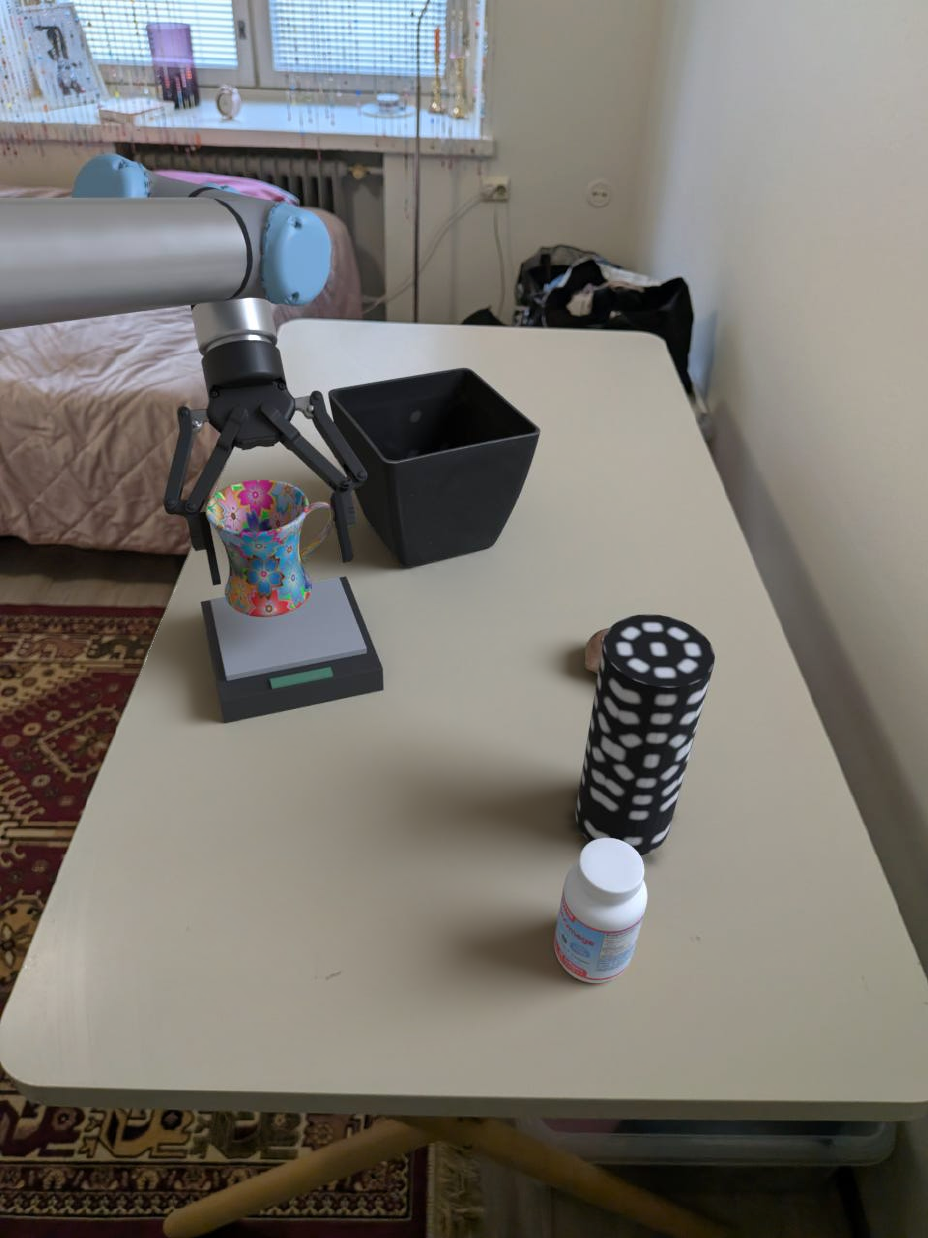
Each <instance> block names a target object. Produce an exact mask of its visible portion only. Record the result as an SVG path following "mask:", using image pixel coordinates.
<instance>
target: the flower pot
mask: <svg viewBox="0 0 928 1238" xmlns="http://www.w3.org/2000/svg"><path fill="white" fill-rule="evenodd" d="M327 397H328V403H329V407H330V411H331V416H332V417H331V418H332V420H333V422H334V423H335V425H336V427H337V428H338V430H339V431H340V433H341V434H342V436H343V437H344V439H345V440H346V442H347V443H348V445H349V446H350V448H351V449H352V451H353V452H354V454H355V455H356V457H357V458H358V460H359V461H360V463H361V464H362V466H363V467H364V469H365V470H366V472H367V478H366V480H365V482H364V484H363V485H362V486H361V487H357V488H356V489H354V490H353V491H354V494H355V496H356V498H357V499H356V500H357V502H358V504H359V507H360V509H361V511H362V514H363V515H364V518H365V520H366V521H367V522H368V524H369V525H370V526H371V528H372V530H373V531H374V532H375V533H376V535H377V536H378V538H379V539H380V541H381V542H382V543H383V544H384V546H385V548H387V550H388V551H389V552H390V554H391V555H392V557H393V558H394V559H395V561H396V562H397V564H398V565H399V566H401V567H403V568H412V567H416V566H421V565H423V564H428V563H431V562H435V561H440V560H444V559H449V558H452V557H456V556H461V555H464V554H468V553H472V552H476V551H480V550H484V549H489V548H491V547H493V546H495V544H496V542H497V541H498V540H499V538H500V536H501V534H502V532H503V530H504V528H505V527H506V524H507V522H508V521H509V519H510V517H511V514H512V513H513V510H514V508H515V506H516V504H517V502H518V499H519V498H520V495H521V493H522V490H523V488H524V485H525V482H526V481H527V477H528V475H529V473H530V469H531V466H532V463H533V460H534V457H535V454H536V450H537V447H538V443H539V438H540V435H541V428H540V427H539V426H538V425H536V424H535V423H534V422H533V421H532V420H531V419H530V418H528V417H527V416H526V415H525V414H524V413H522V412H521V411H520V410H519V409H518V408H517V407H516V406H515V405H513V404H512V403H511V402H509V401H508V400H507V398H505V397H504V396H503V395H501V394H500V392H498V391H497V390H496V389H495V388H494V387H493V386H492V385H490V384H489V383H488V382H487V381H486V380H485V379H483V377H481V376H480V375H478V373H476V372H475V371H474V370H472V369H471V368H468V367H458V368H452V369H445V370H439V371H432V372H426V373H419V374H415V375H409V376H402V377H396V378H391V379H385V380H384V379H383V380H380V381H373V382H372V381H371V382H367V383H362V384H361V383H360V384H356V385H349V386H344V387H343V386H342V387H337V388H333V389H330V390H329V391H328V392H327Z"/></svg>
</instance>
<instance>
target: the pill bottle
mask: <svg viewBox="0 0 928 1238" xmlns="http://www.w3.org/2000/svg"><path fill="white" fill-rule="evenodd" d="M641 856H642V855H639V854H638V852H637V851H636V850H635V849H634V848H633V847H632V846H630V845H629V844H627V843H625V842H623V841H621V840H618V839H614V838H600V839H596V840H594V841H591V842H590V841H589V842H588V843H586V845H585V846H583V848H582V849H581V851H580V853H579V856H578V860H577V861H576V862H575V863H574V864H573V865H572V866H571V867H570V869H569V870H568V871H567V874H566V875H565V878H564V882H563V887H562V894H561V899H560V903H559V904H560V905H559V910H558V914H557V915H558V916H557V920H556V927H555V933H554V939H553V947H554V952H555V955H556V958H557V960H558V962H559V964H560V965H561V966H562V968H563V969H564V970H565V971H566V972H567V973H568V974H570V975H571V976H573V977H574V978H575V979H578V980H580V981H583V982H585V983H590V984H603V983H608V982H611V981H613V980H614V979H617V978H618V977H619V976H621V975H622V974H623V973H624V972H625V971H626V970H627V969H628V967H629V965H630V963H631V961H632V959H633V955H634V952H635V948H636V945H637V941H638V937H639V934H640V930H641V927H642V922H643V919H644V916H645V912H646V908H647V905H648V904H647V903H648V888H647V885H646V882H645V880H644V877H645V864H644V861H643V858H642V857H641Z"/></svg>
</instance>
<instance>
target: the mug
mask: <svg viewBox="0 0 928 1238" xmlns="http://www.w3.org/2000/svg"><path fill="white" fill-rule="evenodd" d="M318 508H324V509H327V510H328V511H329V517H328V521H327V523H326V525H325V527H324V528H323V530H322V531H321V532H320V534H319V535H318V536H317V537H316V539H314V540H313V541H312V542H311V543H310V544H309V545H307V546H306V547H305V548H303V549H302V550H301V551H300V537H301V531H302V528H303V524H304V521H305V519H306V517H307V516H308V515H309V514H310V513H311V512H312V511H314V510H316V509H318ZM205 511H206V517H207V519H208V521H209V523H210V526H212V528H213V529H214V530H215V532H216V533H217V535H218V536H219V539H220V541H221V543H222V544H223V547H224V549H225V551H226V552H225V553H226V555H227V559H228V568H229V569H228V571H229V573H228V579H227V582H226V584H225V587H224V597H225V598H226V600H227V602H228V603H229V605H230V606H231V607H232V608H234V609H235V610H237V611H238V612H240V613H243V614H245V615H249V616H254V617H273V616H279V615H283V614H286V613H288V612H291V611H293V610H295V609H297V608H298V607H300V606H301V605H302V604H303V603H304V602H305V601H306V600H307V599H308V597H309V596H310V593H311V590H312V582H313V581H312V579H311V577H310V575H309V574H308V573H307V572H306V570H305V568H304V566H303V563H305V564H309V562H310V559H308V558H307V557H306V556H307V555H309V553H311V552H312V551H314V550H315V549H316V548H317V547H318V546H320V544H321V543H322V542H323V541H324V540H325V539H326V537H327V536H328V535H329V533H330V531H331V529H332V528H333V526H334V524H335V523H334V520H335V511H334V509H333V507H332V506H331V503H328V502H326V501H316V502H312V503H311V504H309V500H308V497H307V496H306V494H305V492H303V490H301V489H300V488H298V487H296V486H294V485H293V484H291V483H288V482H285V481H280V480H275V479H252V480H245V481H242V482H236V483H234V484H231V485H228V486H226V487H225V488H222V489H220V490H219V491H217V492H216V493H215V494H214V495H212V497H211V498H210V499H209V501H208V502H207V504H206V507H205ZM302 562H303V563H302Z"/></svg>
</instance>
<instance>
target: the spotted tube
mask: <svg viewBox="0 0 928 1238" xmlns="http://www.w3.org/2000/svg"><path fill="white" fill-rule="evenodd" d="M608 628H609V629H608V631H607V633H606V634H605V637H604V641H603V647H602V653H601V659H600V665H599V671H598V674H597V678H596V682H595V683H596V684H595V688H594V689H595V690H594V696H593V701H592V709H591V715H590V720H589V725H588V732H587V738H586V744H585V750H584V755H583V757H584V758H583V763H582V769H581V775H580V781H579V788H578V792H577V799H576V805H575V820H576V824H577V826H578V828H579V830H580V833H581V834H582V835H583V836H584V837H585V839H586V840H587V841H588V842H589V843H590V842H591V841H594V840H596V839H600V838H614V839H618V840H621V841H623V842H625V843H627V844H629V845H630V846H632V847H633V848H634V849H635V850H636V851H637V852H638V854H639V855H640V856H643V855H648V854H649V853H652V852H654V851H656V850H657V849H658V848H660V846H662V845H663V843H664V842H665V841H666V840H667V837H668V835H669V832H670V830H671V829H670V828H671V825H672V821H673V818H674V813H675V810H676V806H677V803H678V799H679V795H680V792H681V789H682V784H683V781H684V778H685V773H686V769H687V766H688V762H689V758H690V755H691V752H692V748H693V744H694V740H695V737H696V734H697V729H698V726H699V721H700V718H701V714H702V711H703V706H704V703H705V700H706V695H707V692H708V688H709V685H710V680H711V677H712V673H713V670H714V666H715V660H716V655H715V649H714V648H713V646H712V643H711V641H709V639H708V638H707V636H706V635H704V634H703V633H702V632H701V631H700V630H699V629H697V628H695V627H694V626H693V625H691V624H689V623H687V622H685V621H683V620H680V619H677V618H674V617H672V616H669V615H668V616H667V615H663V614H652V613H651V614H650V613H646V614H645V613H643V614H636V615H635V614H634V615H631V616H628V617H624V618H621V619H620V620H618V621H616V622H615V623H614V624H612V625H611V626H610V627H608Z"/></svg>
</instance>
